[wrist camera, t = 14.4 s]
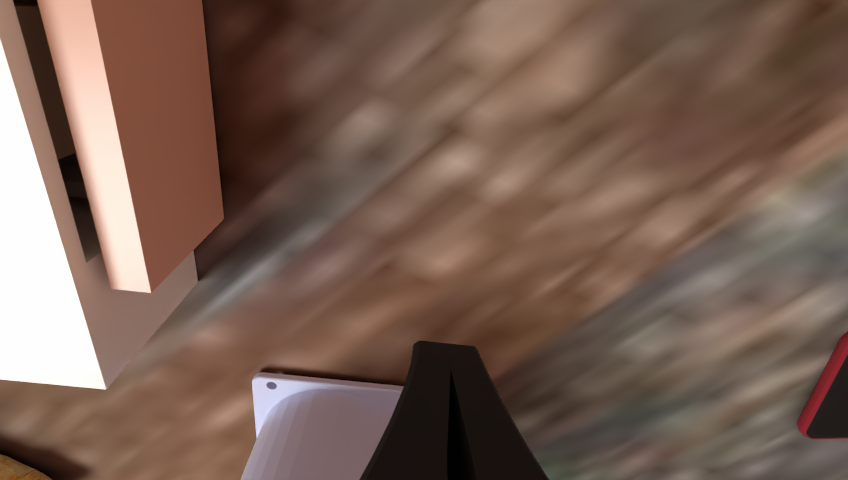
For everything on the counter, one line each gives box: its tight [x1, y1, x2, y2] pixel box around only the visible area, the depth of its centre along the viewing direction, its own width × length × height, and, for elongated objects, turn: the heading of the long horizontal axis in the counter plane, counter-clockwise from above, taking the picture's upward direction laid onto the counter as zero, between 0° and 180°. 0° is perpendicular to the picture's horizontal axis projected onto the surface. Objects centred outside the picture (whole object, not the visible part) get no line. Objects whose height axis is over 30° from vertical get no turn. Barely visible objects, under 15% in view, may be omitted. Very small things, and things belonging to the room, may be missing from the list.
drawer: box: [37, 0, 224, 293], centre depth 13 cm, size 9×11×5 cm
